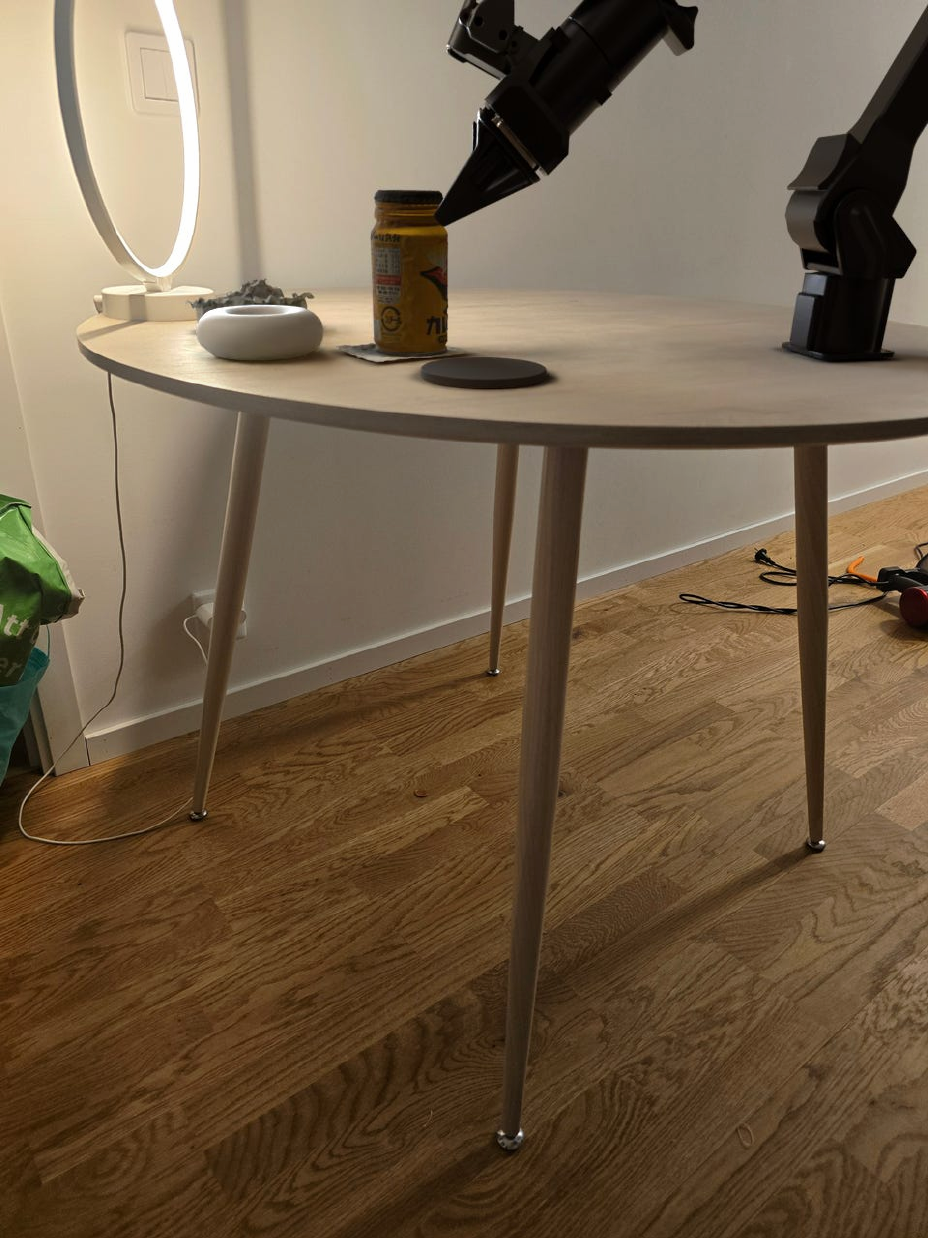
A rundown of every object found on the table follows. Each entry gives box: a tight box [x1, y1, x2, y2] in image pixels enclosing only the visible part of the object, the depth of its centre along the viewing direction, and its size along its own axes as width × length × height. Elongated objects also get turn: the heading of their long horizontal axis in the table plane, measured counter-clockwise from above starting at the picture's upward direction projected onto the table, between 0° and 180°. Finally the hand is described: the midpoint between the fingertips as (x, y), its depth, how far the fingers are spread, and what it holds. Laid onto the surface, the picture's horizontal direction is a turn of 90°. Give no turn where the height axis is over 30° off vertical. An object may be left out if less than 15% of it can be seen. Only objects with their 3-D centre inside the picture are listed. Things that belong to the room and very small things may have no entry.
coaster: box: [420, 356, 547, 389], centre depth 63 cm, size 9×9×1 cm
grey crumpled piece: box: [185, 277, 315, 325], centre depth 83 cm, size 11×8×4 cm
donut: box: [195, 305, 324, 361], centre depth 71 cm, size 10×4×10 cm
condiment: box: [334, 189, 468, 363], centre depth 70 cm, size 7×8×12 cm
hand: (438, 219), depth 68 cm, fingers open, 9 cm apart
